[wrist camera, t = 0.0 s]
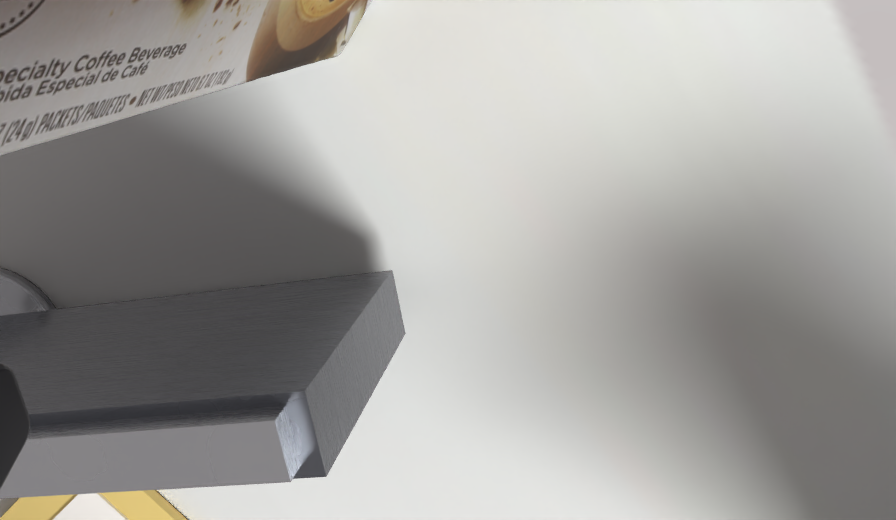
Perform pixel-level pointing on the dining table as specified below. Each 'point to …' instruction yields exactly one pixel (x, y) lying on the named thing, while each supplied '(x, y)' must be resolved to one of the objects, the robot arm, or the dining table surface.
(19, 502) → the label plate
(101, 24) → the cookie box
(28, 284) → the flange
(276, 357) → the gray rectangular panel
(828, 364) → the dining table surface
